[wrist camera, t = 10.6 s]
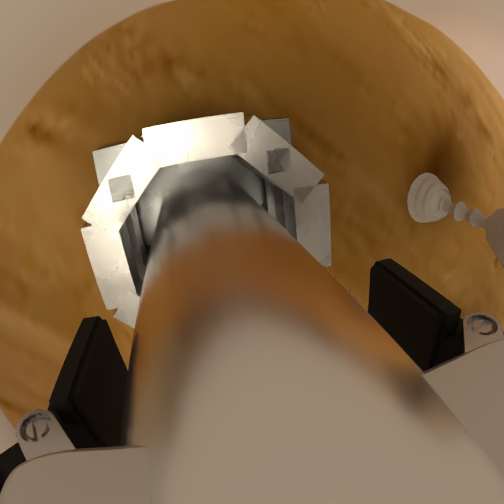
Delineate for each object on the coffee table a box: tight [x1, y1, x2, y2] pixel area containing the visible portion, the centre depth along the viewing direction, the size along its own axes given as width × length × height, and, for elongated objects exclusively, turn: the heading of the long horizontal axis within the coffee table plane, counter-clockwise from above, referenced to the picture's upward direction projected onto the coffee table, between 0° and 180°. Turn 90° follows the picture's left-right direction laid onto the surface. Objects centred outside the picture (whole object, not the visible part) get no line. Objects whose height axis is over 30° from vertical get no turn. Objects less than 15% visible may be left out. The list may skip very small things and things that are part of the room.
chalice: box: [407, 173, 504, 268], centre depth 19 cm, size 7×7×18 cm
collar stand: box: [81, 112, 331, 328], centre depth 20 cm, size 14×13×8 cm
